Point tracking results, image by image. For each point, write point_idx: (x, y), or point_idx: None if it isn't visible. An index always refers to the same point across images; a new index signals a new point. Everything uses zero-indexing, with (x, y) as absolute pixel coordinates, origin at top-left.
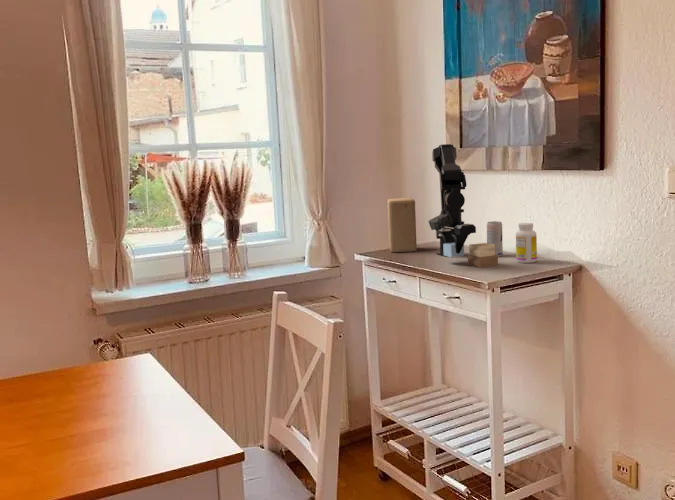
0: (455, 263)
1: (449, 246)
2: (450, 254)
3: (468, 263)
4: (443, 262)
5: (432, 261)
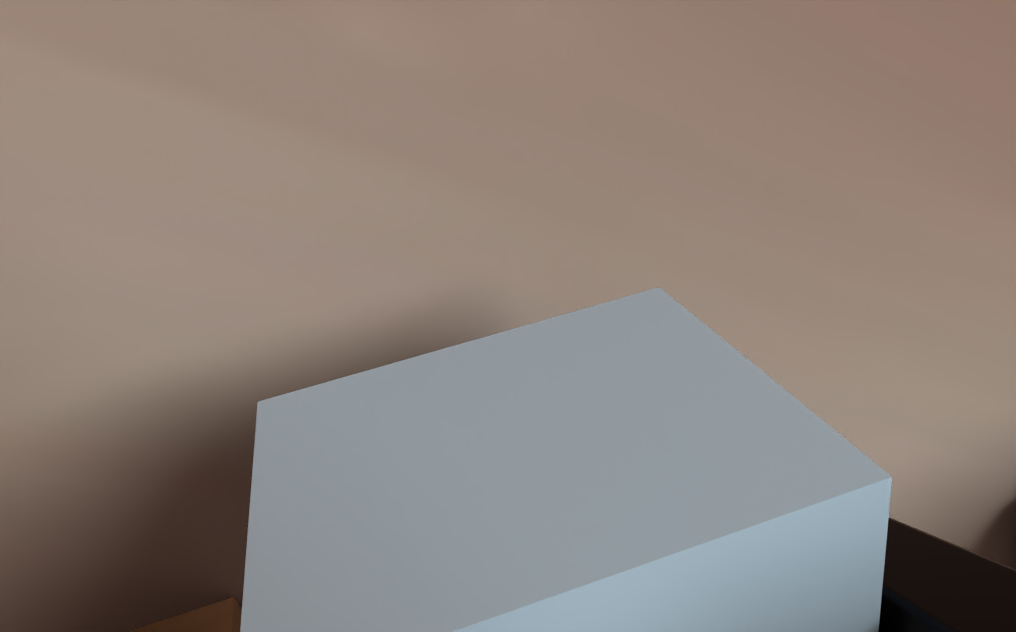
0: None
1: (391, 599)
2: (308, 426)
3: (215, 618)
4: (655, 242)
5: (878, 70)
